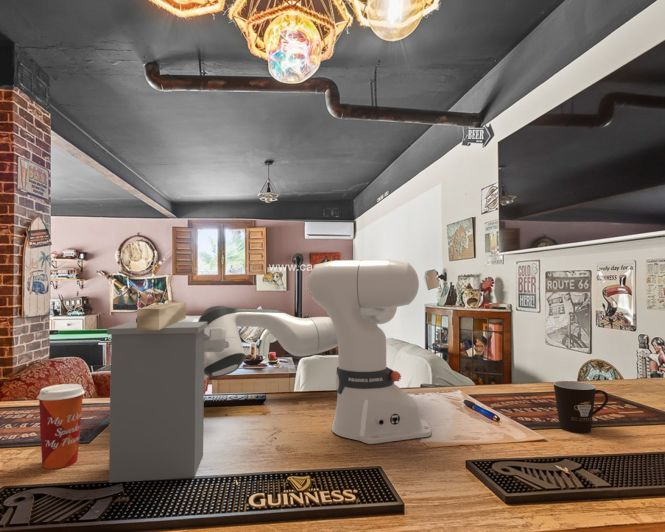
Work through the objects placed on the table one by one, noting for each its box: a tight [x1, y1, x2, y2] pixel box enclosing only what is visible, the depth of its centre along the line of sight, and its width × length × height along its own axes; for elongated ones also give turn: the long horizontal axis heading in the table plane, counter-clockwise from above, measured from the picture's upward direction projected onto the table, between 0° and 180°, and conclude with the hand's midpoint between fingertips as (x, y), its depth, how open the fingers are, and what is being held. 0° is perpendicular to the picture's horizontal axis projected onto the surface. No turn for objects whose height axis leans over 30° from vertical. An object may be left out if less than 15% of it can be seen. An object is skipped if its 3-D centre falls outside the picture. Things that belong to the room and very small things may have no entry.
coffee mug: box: [553, 380, 609, 434], centre depth 101 cm, size 12×9×10 cm
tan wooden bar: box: [136, 301, 187, 330], centre depth 84 cm, size 4×23×4 cm, turn 8°
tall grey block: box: [106, 321, 207, 483], centre depth 81 cm, size 15×11×26 cm
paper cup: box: [36, 383, 86, 470], centre depth 83 cm, size 8×8×14 cm
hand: (177, 326), depth 98 cm, fingers open, 8 cm apart
